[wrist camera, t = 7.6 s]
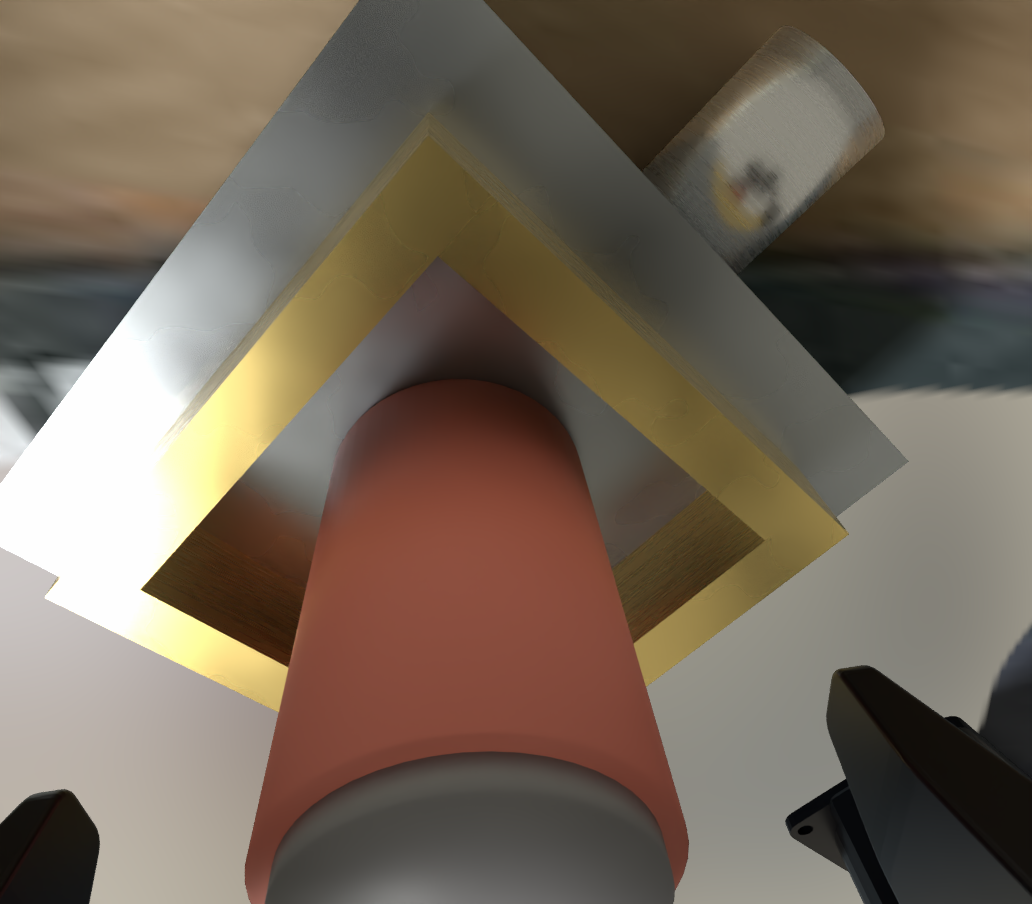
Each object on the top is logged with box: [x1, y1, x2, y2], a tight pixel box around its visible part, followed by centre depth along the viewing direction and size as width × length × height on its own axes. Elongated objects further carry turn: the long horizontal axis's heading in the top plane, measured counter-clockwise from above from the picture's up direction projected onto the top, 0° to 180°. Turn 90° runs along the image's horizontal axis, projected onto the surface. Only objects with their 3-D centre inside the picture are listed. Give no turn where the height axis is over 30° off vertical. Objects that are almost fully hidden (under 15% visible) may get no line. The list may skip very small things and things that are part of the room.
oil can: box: [245, 379, 689, 904], centre depth 11 cm, size 4×4×7 cm
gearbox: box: [0, 0, 908, 712], centre depth 14 cm, size 12×15×5 cm
